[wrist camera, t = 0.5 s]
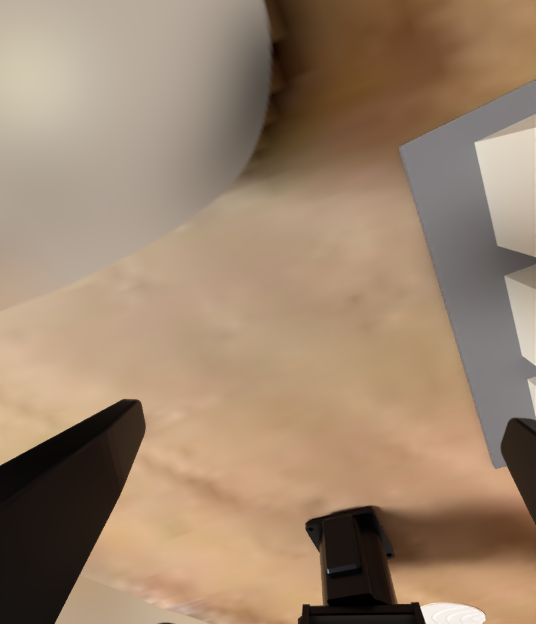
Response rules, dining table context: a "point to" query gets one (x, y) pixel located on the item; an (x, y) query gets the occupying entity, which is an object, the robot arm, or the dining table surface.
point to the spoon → (452, 613)
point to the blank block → (524, 308)
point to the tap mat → (474, 259)
